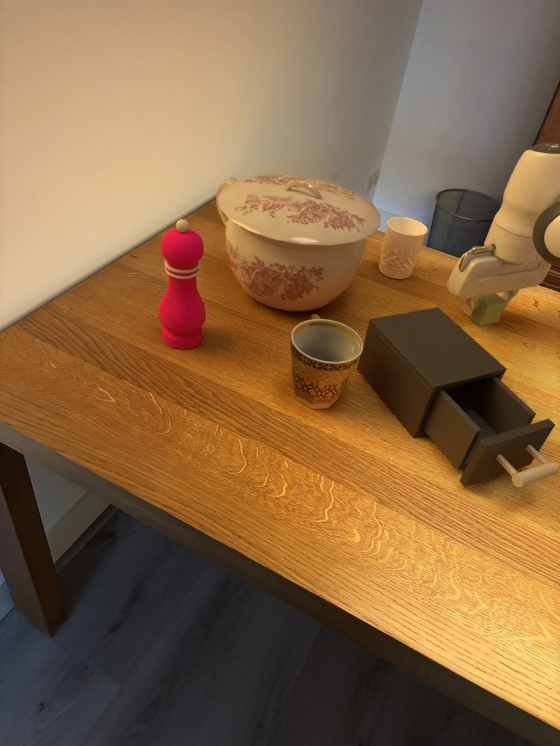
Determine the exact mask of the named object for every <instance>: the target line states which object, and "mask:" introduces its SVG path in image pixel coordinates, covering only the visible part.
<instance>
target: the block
mask: <svg viewBox="0 0 560 746" xmlns="http://www.w3.org/2000/svg"><path fill="white" fill-rule="evenodd" d="M500 296H501V295H499V294H498V293H495V294H489V295H484V296H478V299H477V300H474V305H476V306H477V307H478V308H477V310H476V312H475V314H472V315H467V317H468V318H470V319H471V320H472V321H474V322H475V324H477V325H478V326H479V327H482V326H487V325H492V324H498V323H499V322H500V320H501V317H502V315H503V313H504V311H505V309H506V308H505V306H506V304H507V302H506V301H505V300H504V299H503V298H501V297H500Z"/></svg>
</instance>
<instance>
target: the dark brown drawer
mask: <svg viewBox="0 0 560 746" xmlns="http://www.w3.org/2000/svg"><path fill="white" fill-rule="evenodd" d="M536 415H537V413H536V412H535V411H534V410H533V409H532V408H531V407H530V406H529V405H528V404H527V403H526V402H525V401H523V400H522V399H521V398H520V397H519V396H518V395H517V394H516V393H515V392H514V391H513V390H511V388H510V387H508V385H506V384H505V383H504V382H503V381H502V379H501V380H500V379H499V378H497V377H496V376H491V377H487V378H484V379H480V380H476V381H472V382H468V383H464V384H460V385H456V386H452V387H448V388H444V389H440V390H437V391H436V393H435V396H434V398H433V401H432V403H431V406H430V408H429V411H428V413H427V416H426V418H425V420H424V423H423V425H422V429H423V430H424V431H425V433H426V435H427V436H428V437H429V439H430V440H431V441H432V442H433V444H434V445H435V446H436V447H437V448H438V449H439V450H440V452H441V453H442V454H443V456H445V457H446V458H447V460H448V461H449V462H450V463H451V465H452V466H453V467H454V468H455V469H456V470H457V471H459V470H463V469H464V471H463V473H462V475H461V476H460V478H459V482H460V484H461V485H462V486H463V487H464V488H468V487H471V486H473V485H477V484H480V483H483V482H486V481H488V480H492V479H494V478H497V477H500V476H503V475H505V474H509V475H510V476H511V482H512V484H513V485H514V487H516V488H522V487H525V486H527V485H531V484H533V483H535V482H539V481H541V480H544V479H547V478H549V477H553V476H556V475H558V473H559V466H558V464H557V463H556V462H554V461H548V460H546V459H545V457H543V456H542V455H541V454H540V450H541V449H542V447H543V446H544V444H545V443H546V441H547V439H548V438H549V436H550V435H551V433H552V431H553V430H554V428H555V426H556V423H554V421H552V420H551V419H550V418H546V419H542V420H539V421H536V422H533V420H534V418H535V417H536ZM534 459H535V460H536V461H537V462H538V464H539V465H537V466H533V467H531V468H528V469H525V470H522V471H519V472H518V470H519V469H522V468H526V467H528V466H530V465H532V463H533V461H534Z"/></svg>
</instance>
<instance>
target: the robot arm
mask: <svg viewBox="0 0 560 746" xmlns="http://www.w3.org/2000/svg"><path fill="white" fill-rule="evenodd" d="M552 266H553V267H555V268H558V269H560V142H540V143H538V144H535V145H533V146H531V147H529V148H528V149H526V150H525V151H523V153H522V154H521V156H520V157H519V159H518V161H517V163H516V165H515V166H514V169H513V171H512V172H511V175H510V177H509V179H508V181H507V184H506V187H505V189H504V192H503V196H502V203H501V206H500V208H499V210H498V211H497V212H496V214H495V215H494V217H493V220H492V222H491V225H490V227H489V230H488V233H487V235H486V238H485V240H484V243H483V245H480V246H479V245H475V246H472V247H471V248H470V249H469V250H467V251H466V252H464V253H463V254H462V255H461V257H460V258H459V259H458V261H457V263H456V264H455V266H454V268H453V270H452V272H451V275H449V279H448V281H447V283H446V288H447V291H448V292H449V293H450V294H451V295H452V296H453V297H454V298H456V299H457V300H464V305H463V308H462V312H463V313H464V314H465V315H466V316H468V315H472V314H475V312H476V310H477V308H478V307H477V306H476V305H474V300H477V299H478V296H484V295H489V294H495V293H496V294H499V293H501V295H499V296H500V297H501V298H503V299H504V300H505V301H506V302H507V304H506V306H505V309H506V308H507V307H508V305H509V304H510V302H511V301H512V299H514V298H515V297H516V296H517V295H518V293H519V292H520V290H523V289H528V288H534V287H535V288H536V287H538V286H539V285H540V284H542V283H543V281H544V280H545V278H547V275H548V273H549V271H550V269H551V267H552Z"/></svg>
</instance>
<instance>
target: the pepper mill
mask: <svg viewBox="0 0 560 746" xmlns="http://www.w3.org/2000/svg"><path fill="white" fill-rule="evenodd" d="M160 252H161V255H162V257H163V258H164V272H165V273H166V274H167V277H168V279H167V288H166V292H165V293H164V296H163V297H162V300H161V301H160V304H159V307H158V320H159V323H160V324H161V325H162V328H161V337H162V340H163V342H164V343H165V344H166V345H167V346H169V347H171V348H173V349H178V350H187V349H191V348H194V347H196V346H198V345H199V344H200V343H201V342H202V340H203V325H204V324H205V323H206V320H207V312H206V306H205V303H204V300H203V299H202V296H201V294H200V292H199V289H198V284H197V277H198V275H199V274H200V272H201V268H200V267H201V262H200V260H202V258H203V256H204V253H205V245H204V241H203V238H202V237H201V235H200V234H199V233H198V232H197V231H195V230H193V229H192V228H190V223H189V222H188V221H187V220H186V219H184V218H181V219H178V220H177V222H176V223H175V227H173V228H171V229H169V230H167V232H165V234H163V236H162V239H161V241H160Z"/></svg>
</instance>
